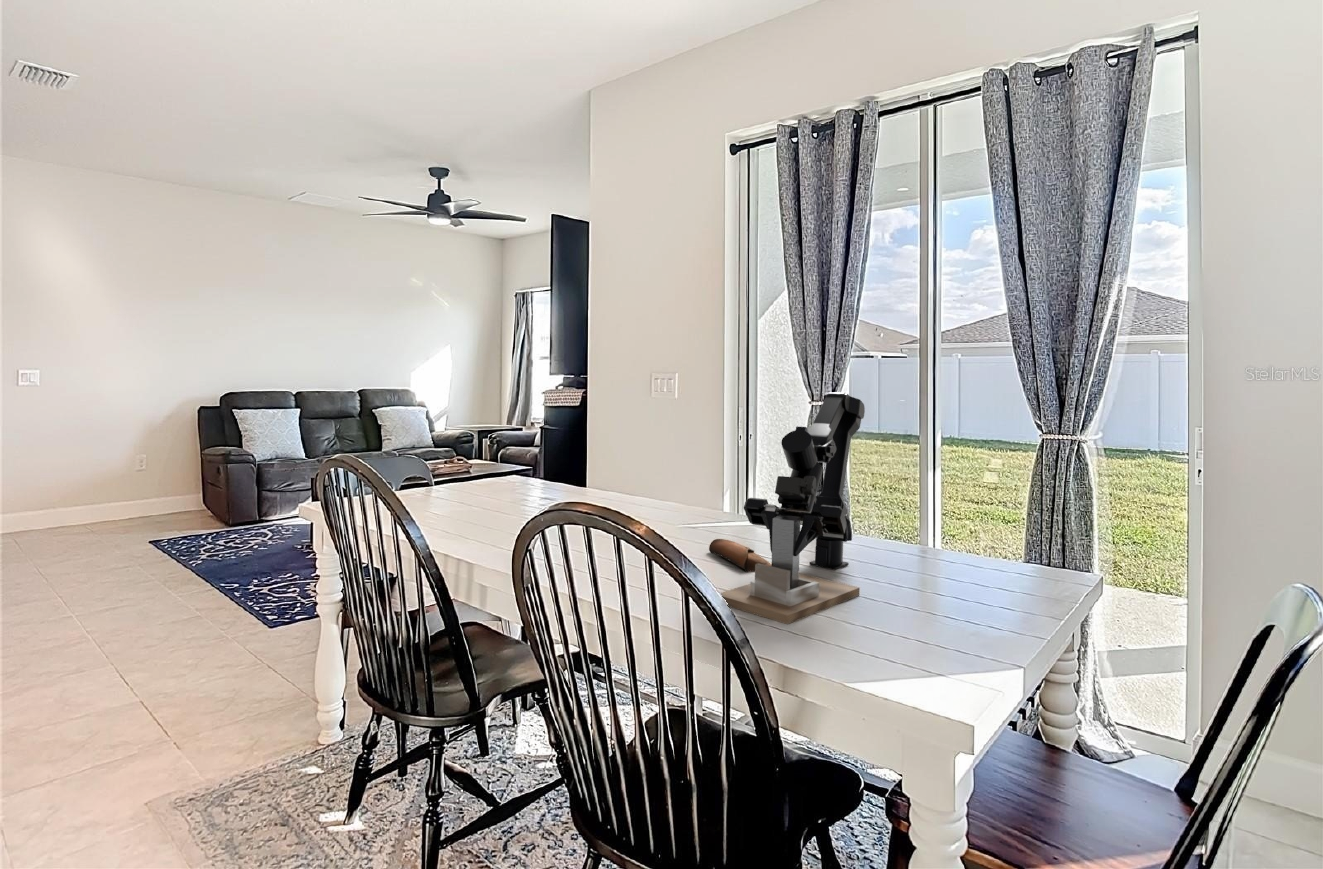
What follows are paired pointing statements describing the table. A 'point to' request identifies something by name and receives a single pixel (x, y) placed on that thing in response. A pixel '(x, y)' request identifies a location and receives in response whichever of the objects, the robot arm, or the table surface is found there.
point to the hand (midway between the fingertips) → (783, 553)
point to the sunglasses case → (737, 554)
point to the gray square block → (786, 546)
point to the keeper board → (787, 595)
